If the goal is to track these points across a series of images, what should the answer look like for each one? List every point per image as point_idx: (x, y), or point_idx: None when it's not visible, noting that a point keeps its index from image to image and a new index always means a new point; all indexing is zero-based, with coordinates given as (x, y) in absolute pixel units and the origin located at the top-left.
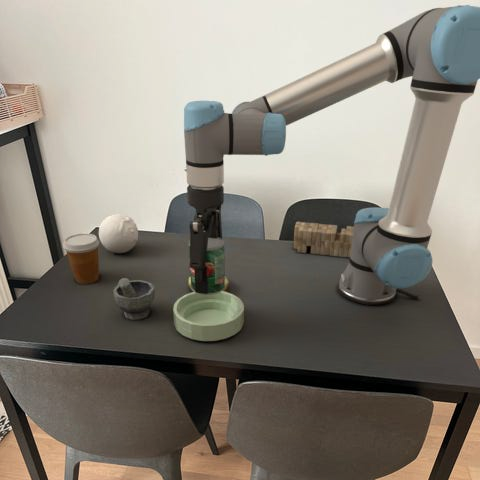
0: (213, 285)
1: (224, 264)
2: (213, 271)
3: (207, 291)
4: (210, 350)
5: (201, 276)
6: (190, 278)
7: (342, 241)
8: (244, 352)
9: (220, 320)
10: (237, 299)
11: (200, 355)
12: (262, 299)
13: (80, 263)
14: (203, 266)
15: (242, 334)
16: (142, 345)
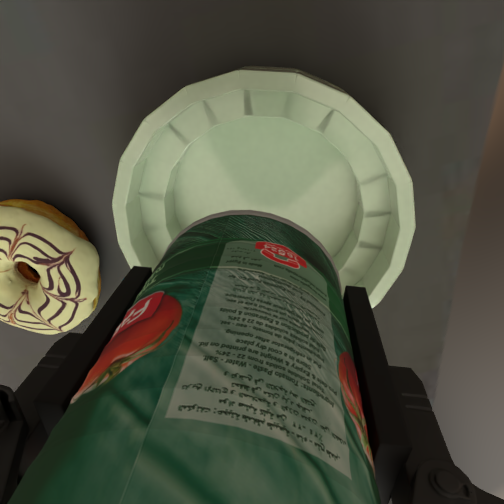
0: (331, 283)
1: (197, 306)
2: (342, 357)
3: (354, 292)
4: (432, 158)
5: (431, 410)
6: (54, 331)
7: None
8: (446, 11)
9: (246, 169)
10: (157, 127)
11: (465, 185)
12: (3, 27)
13: None
14: (475, 493)
15: (307, 56)
16: (409, 347)
